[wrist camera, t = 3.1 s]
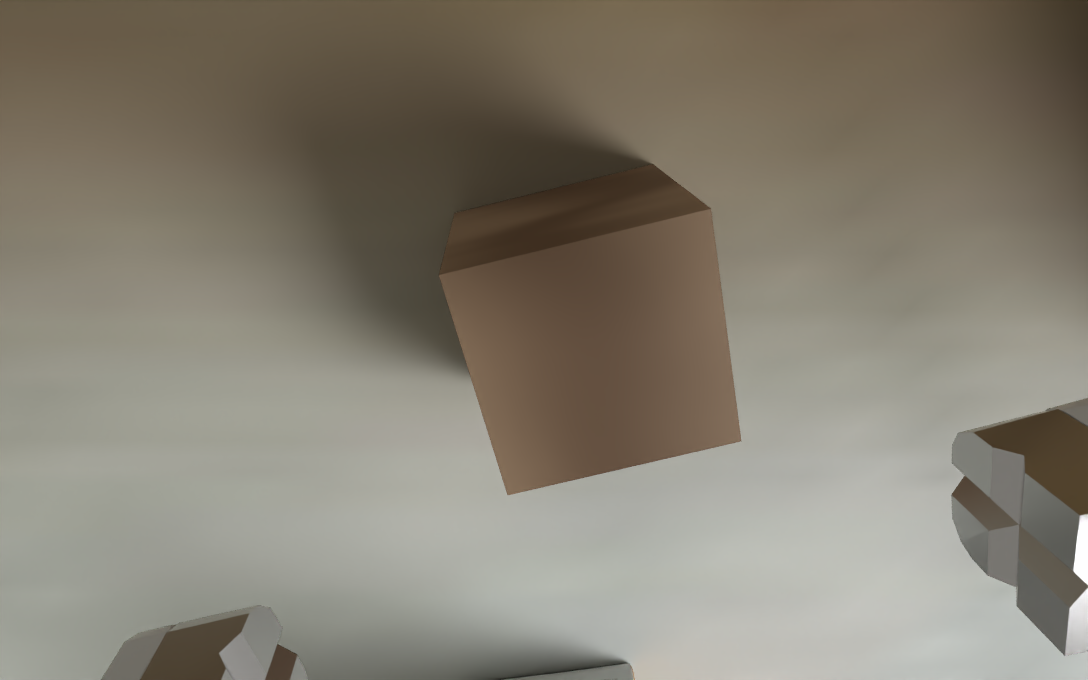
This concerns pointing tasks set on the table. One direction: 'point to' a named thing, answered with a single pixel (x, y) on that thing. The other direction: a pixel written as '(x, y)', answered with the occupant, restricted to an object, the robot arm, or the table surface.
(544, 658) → the table surface
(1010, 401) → the table surface
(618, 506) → the table surface
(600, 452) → the walnut cube
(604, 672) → the small box
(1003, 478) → the robot arm
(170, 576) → the table surface
